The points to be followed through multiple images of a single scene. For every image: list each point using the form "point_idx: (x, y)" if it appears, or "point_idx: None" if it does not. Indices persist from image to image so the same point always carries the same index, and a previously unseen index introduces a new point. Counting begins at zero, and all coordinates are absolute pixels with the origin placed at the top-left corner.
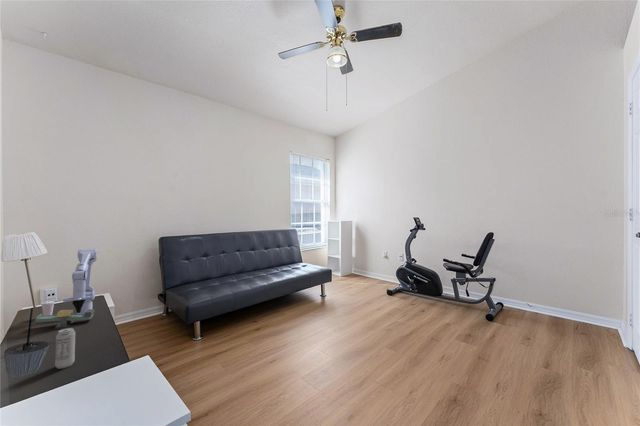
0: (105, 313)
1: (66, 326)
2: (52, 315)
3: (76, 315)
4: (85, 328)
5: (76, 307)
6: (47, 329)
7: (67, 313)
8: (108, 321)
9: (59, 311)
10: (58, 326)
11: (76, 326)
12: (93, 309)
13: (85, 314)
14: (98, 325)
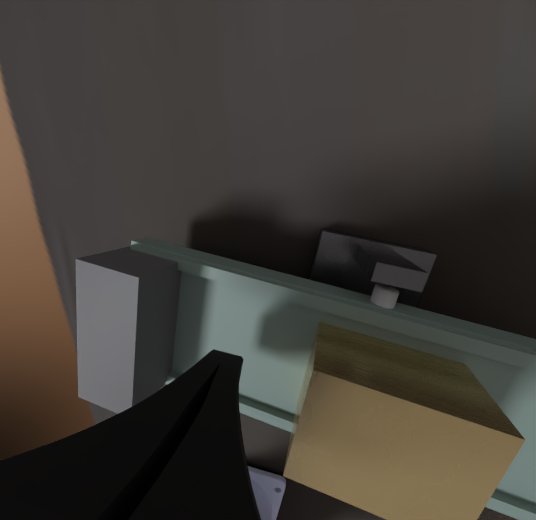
0: (100, 421)
1: (339, 232)
2: (507, 500)
3: (259, 379)
4: (179, 35)
5: (217, 417)
6: (486, 279)
7: (354, 365)
8: (29, 154)
9: (485, 478)
10: (407, 250)
11: (260, 187)
12: (82, 384)
13: (152, 266)
14: (83, 66)
